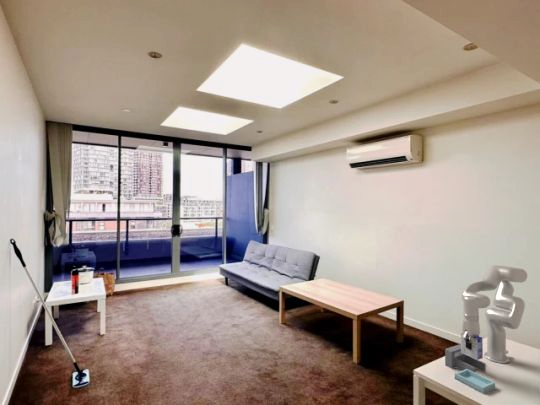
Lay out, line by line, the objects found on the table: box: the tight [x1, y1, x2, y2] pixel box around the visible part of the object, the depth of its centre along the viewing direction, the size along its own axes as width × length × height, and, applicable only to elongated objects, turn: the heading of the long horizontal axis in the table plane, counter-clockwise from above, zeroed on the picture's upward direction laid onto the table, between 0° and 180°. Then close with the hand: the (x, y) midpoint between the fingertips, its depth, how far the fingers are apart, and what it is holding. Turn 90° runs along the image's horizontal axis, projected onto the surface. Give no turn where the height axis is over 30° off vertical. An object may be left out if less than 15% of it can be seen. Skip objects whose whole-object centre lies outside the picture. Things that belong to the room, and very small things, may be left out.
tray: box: [454, 369, 496, 394], centre depth 168 cm, size 11×15×3 cm
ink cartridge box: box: [460, 332, 484, 361], centre depth 181 cm, size 10×6×14 cm, turn 27°
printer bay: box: [444, 343, 487, 373], centre depth 183 cm, size 18×15×10 cm
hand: (471, 347), depth 181 cm, fingers closed on ink cartridge box, 5 cm apart
